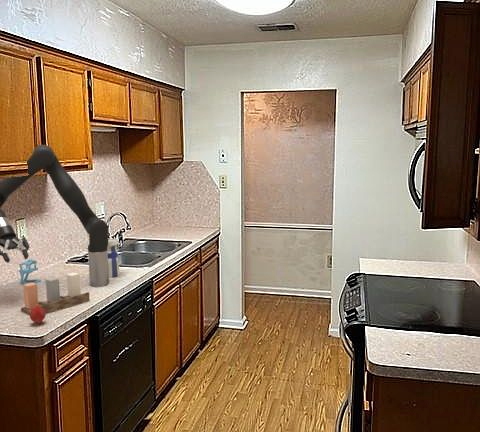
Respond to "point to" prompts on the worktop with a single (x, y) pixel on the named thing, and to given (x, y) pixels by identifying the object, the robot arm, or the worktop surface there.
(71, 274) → the cream rectangular block
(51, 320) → the worktop surface
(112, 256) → the water bottle
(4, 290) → the worktop surface
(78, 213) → the robot arm
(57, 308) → the wooden divided tray
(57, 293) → the grey rectangular block
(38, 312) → the onion
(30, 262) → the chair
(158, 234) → the worktop surface
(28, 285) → the orange block
